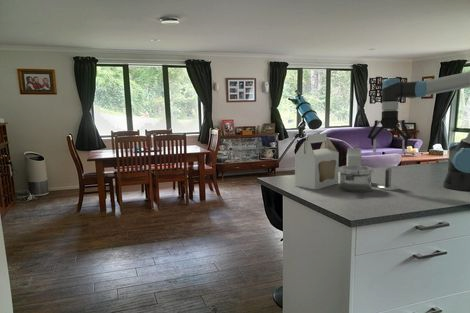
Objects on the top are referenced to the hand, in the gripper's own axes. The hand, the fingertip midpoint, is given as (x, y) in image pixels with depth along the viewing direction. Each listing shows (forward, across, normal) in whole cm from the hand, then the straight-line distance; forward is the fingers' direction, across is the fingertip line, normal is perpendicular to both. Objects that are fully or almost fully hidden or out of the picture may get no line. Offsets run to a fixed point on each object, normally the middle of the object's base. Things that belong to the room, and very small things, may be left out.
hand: (388, 152), depth 174 cm
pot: (+18, +14, +12) cm, 26 cm away
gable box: (+19, +35, +8) cm, 40 cm away
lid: (+19, 0, 0) cm, 19 cm away
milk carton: (+19, +20, -10) cm, 29 cm away
